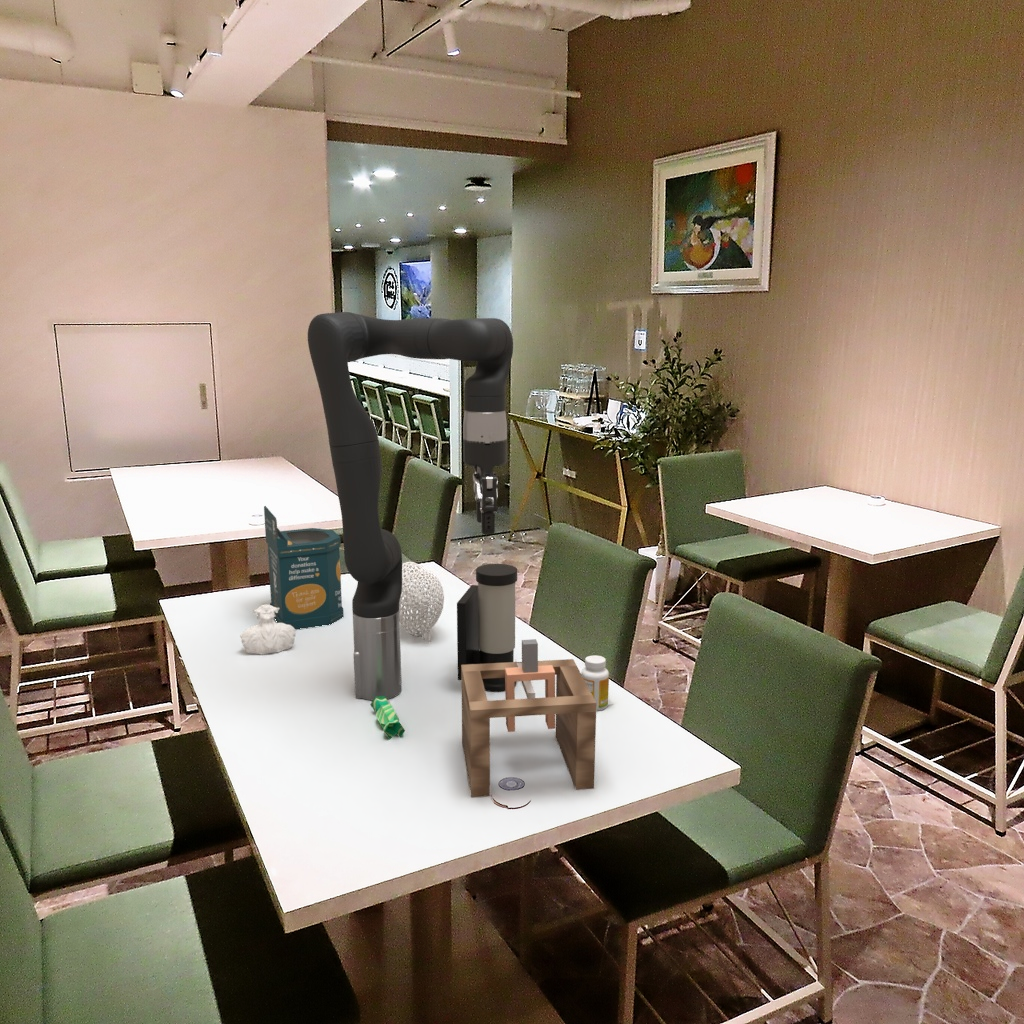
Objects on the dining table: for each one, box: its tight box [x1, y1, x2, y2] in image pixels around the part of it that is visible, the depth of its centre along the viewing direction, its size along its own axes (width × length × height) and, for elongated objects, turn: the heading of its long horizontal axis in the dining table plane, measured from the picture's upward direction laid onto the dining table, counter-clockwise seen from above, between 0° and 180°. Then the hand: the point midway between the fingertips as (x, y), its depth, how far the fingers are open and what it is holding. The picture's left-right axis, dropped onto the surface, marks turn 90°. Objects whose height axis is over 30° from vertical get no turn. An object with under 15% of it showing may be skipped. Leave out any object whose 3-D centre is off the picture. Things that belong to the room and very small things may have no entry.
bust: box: [240, 603, 296, 655], centre depth 199 cm, size 12×8×11 cm
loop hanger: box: [504, 638, 556, 733], centre depth 147 cm, size 8×3×15 cm, turn 97°
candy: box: [370, 696, 406, 740], centre depth 164 cm, size 12×3×4 cm
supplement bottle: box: [580, 655, 610, 712], centre depth 171 cm, size 5×5×10 cm
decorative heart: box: [399, 561, 445, 643], centre depth 206 cm, size 18×11×17 cm, turn 29°
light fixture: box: [456, 563, 518, 693], centre depth 179 cm, size 12×11×25 cm
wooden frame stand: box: [460, 658, 597, 798], centre depth 148 cm, size 20×18×16 cm
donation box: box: [263, 505, 345, 630], centre depth 218 cm, size 16×16×28 cm
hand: (485, 527), depth 155 cm, fingers open, 8 cm apart
